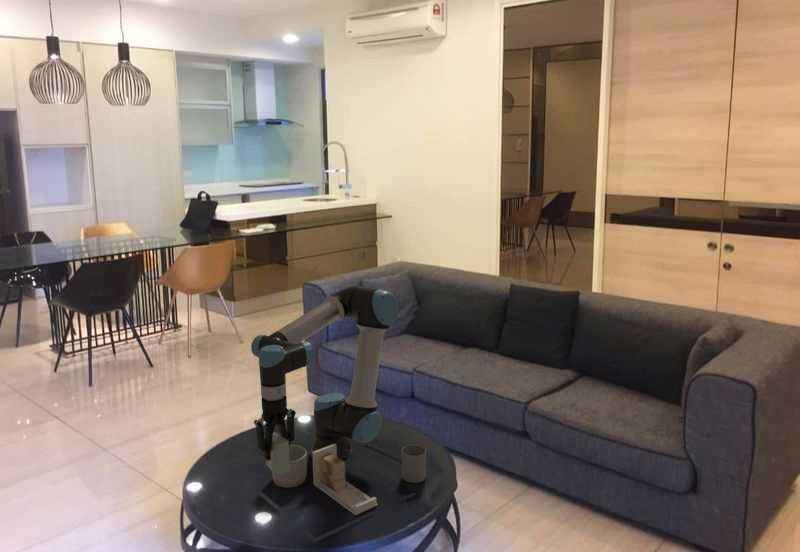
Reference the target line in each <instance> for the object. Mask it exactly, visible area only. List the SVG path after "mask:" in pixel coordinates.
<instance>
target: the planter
mask: <svg viewBox="0 0 800 552" xmlns="http://www.w3.org/2000/svg"><path fill="white" fill-rule="evenodd" d="M289 457H290V471H288V472H286V473H283V474H280V475H278V474H277V473H276V472H274V471H273V470H271V476H272V480H273V483H274V484H275V485H276V486H278V487H279V488H288V489H289V488H296V487H298V486H300V485H302V484H303V483H304V482H305V480H306V479H307V473H308V451H307V449H306V448H305V447H304V446H301V445H297V444H290V445H289Z"/></svg>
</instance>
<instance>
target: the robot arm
mask: <svg viewBox="0 0 800 552" xmlns="http://www.w3.org/2000/svg"><path fill="white" fill-rule="evenodd" d="M398 316H399V302H398V300H397V298H396V297H395V295H394V294H393V293H392V292H390V291H387V290H384V289H378V288H372V287H371V288H370V287H365V286H361V285H352V286H349V287H345V288H343V289H340V290H337V291H336V292H334V293H332V294H330V295H329V296H327V297H326V298H325V299H324V301H323V302H322V303H320V304H319V305H317V306H316V307H315V308H312V309H311V310H310V311H307V312H306V313H305V314H303V315H301V316H300V317H298V318H296V319H294V320H293V321H291V322H289V323H288V324H286V325H284V326H283V327H281V328H279V329H278V330H276V331H274V332H273V333H271V334H269V335H266V334H259V335H257V336H255V337H254V338H253V339H252V341H251V345H250V348H251V350H250V351H251V353H252V354H253V356H255V357H257V358H258V367H259V378H260V379H259V380H260V395H261V410H262V413H261V417H260V418H259V419H255V420H254V421H253V424H254V425H255V428H256V438H257V439H256V440H257V447H258V449H259V450H260V451H262V452H264V459H265V461H266V460H267V461H268V466H267V468H268V469H270V470H271V471H272V470H274V455H273V450H272V449H271V445H272V437H273V433H274V430H275V427H276V426H278V431H279V433H280V434H279V435H281V436H282V437H283V438H285V439H286V440H288V441H289V445H292V443H291V442H294V441H295V417H296V413H297V412H296V410H294V409H292V408H289V409H288V408H287V407H288V404H287V403H288V400H287V399H288V398H287V385H286V381H287V380H286V374H289V373H291V372H294V371H297V370H300V369H302V368H306V367H307V366H309V365H310V364H312V363H314V361H315V360H316V350H315V347H314V345H313V344H312V343H310V342H309V341H305V340H306V339H309V338H310V337H311V336H314V335H315V334H317V333H318V332H320V331H321V330H322V329H325V328H326V327H328V326H329V325H330V324H332V323H333V322H335V321H336V322H341V321H342V320H344V319H346V318H355V319H356V326H357V328H358V330H359V334H358V341H357V347H356V349H357V350H356V354H355V362H354V369H353V374H352V375H353V376H352V380H351V381H352V382H351V389H350V395H349V396H348V397H346V395H345V394H343V393H340V392H331V393H325V394H322V395H319V396H318V397H316V398H315V400H314V403H313V419H314V438H313V442H312V446H311V449H310V458H311V459H312V460H313V456H312V452H313V451H316V450H319V449H322V448H324V447H327V446H330V445H332V444H336V445H337V457H338V458H340V459H341V460H343V461H344V460H345V459H347V458H349V457H350V456H351V454H352V445H351V442H350V440H353V441H354V442H359V443H362V444H366V443H369V442H370V443H371V442H372V441H373V440H374V439H375V438H376V436H377V435H378V434H379V433H380V430H381V428H382V424H383V423H382V422H383V418H382V415H381V413H379V412H378V411H377V410H378V403H377V401H376V400H375V396H376V388H377V382H378V375H379V369H380V363H381V354H382V348H383V340H384V335H385V333H386V332H387V331H389V329H390V326H391V325H392V324H394V323H395V322H396V320H397V319H398ZM285 419H286V420H285ZM285 421H286V422H285ZM264 422H265V430H264ZM264 436H265V438H264Z"/></svg>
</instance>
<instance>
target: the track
mask: <svg viewBox="0 0 800 552" xmlns="http://www.w3.org/2000/svg"><path fill="white" fill-rule="evenodd" d="M330 453H332V454H334V455H335V456H337V445H336V444H332V445H330V446H327V447H324V448H322V449H319V450H316V451H313V452H312V456H313V459H312V476H313V481H312V482H313V486H315V487H316V488H318V489H319V490H320V491H322V492H323V493H324V494H326V495H328V497H330V498H331V499H333V500H334V501H335V502H336V503H338V504H339V505H340V506H342V507H343V508H345V509H346V510H348V511H349V512H350V513H352V514H353V515H354V516H357V515H359V514H361V513H364V512H365V511H368V510H370V509H372V508H374V507H376V506H378V505H379V504H378V503H377V497H376V496H373V497H370V496H369V495H367V494H366V493H364V492H363V491H362V490H360V489H358V488H357V487H355V486H354V485H353V484H351V483H350V482H348V481H347V480H345V489H344V490H342V491H340V492H337V493H336V492H335V491H333V490H332V489H330V488H329V487H328V486H326V485H325V484H324V483H322V464H321V457H322V456H324V455H327V454H330Z"/></svg>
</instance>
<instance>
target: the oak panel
mask: <svg viewBox="0 0 800 552" xmlns="http://www.w3.org/2000/svg"><path fill="white" fill-rule="evenodd" d="M321 464H322V483H324V484H325V485H326V486H328V487H329V488H330V489H332V490H333V491H335V492H336V493H337V492H340V491H342V490H344V489H345V481H346V462H345V460H344V459H343V460H341V459H340V458H338V457H337V456H335V455H334V454H332V453H330V454H327V455H324V456H322V457H321Z"/></svg>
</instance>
